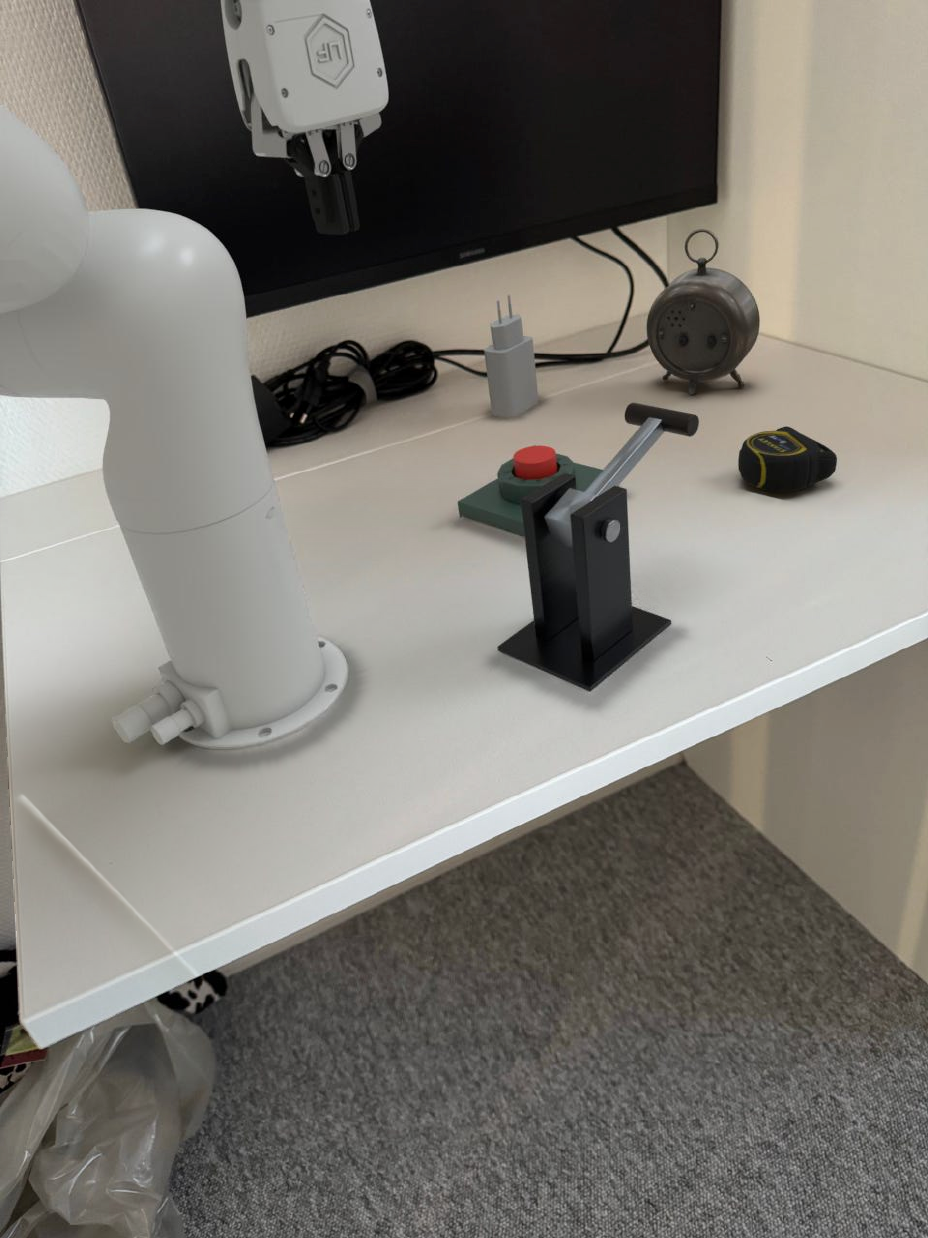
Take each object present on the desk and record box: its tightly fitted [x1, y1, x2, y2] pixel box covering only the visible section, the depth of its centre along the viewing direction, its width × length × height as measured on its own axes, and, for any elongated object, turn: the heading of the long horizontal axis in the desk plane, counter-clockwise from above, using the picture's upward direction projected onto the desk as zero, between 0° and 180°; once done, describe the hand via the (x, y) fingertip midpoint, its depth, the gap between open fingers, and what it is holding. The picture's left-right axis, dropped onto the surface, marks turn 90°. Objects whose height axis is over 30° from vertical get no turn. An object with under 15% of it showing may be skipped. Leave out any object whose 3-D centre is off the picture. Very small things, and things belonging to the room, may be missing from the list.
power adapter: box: [483, 294, 539, 419], centre depth 100 cm, size 3×5×12 cm, turn 140°
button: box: [512, 445, 557, 480], centre depth 80 cm, size 4×4×2 cm
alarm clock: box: [646, 228, 761, 396], centre depth 97 cm, size 11×5×16 cm, turn 58°
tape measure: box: [737, 426, 838, 493], centre depth 80 cm, size 7×7×4 cm
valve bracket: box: [497, 473, 672, 692], centre depth 62 cm, size 9×8×12 cm
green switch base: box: [457, 453, 620, 538], centre depth 82 cm, size 11×9×4 cm
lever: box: [544, 402, 700, 549], centre depth 61 cm, size 12×5×2 cm, turn 136°
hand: (338, 230), depth 70 cm, fingers closed
